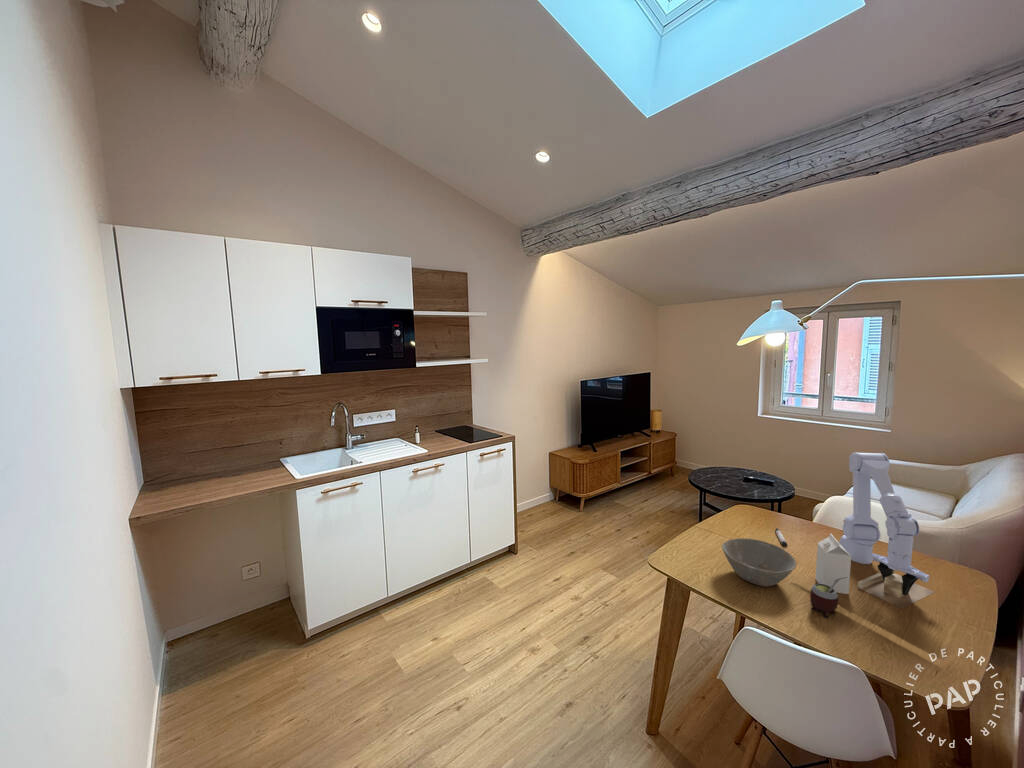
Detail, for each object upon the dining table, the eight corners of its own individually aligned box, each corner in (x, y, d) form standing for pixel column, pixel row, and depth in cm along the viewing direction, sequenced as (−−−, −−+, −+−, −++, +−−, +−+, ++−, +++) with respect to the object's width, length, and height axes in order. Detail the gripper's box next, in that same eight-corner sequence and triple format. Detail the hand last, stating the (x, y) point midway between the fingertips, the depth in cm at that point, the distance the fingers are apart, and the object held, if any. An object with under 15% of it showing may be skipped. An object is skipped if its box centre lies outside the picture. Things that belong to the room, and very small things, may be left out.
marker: (787, 547, 167) (787, 543, 167) (782, 546, 168) (782, 542, 167) (778, 531, 181) (779, 526, 181) (773, 530, 182) (774, 526, 181)
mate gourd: (806, 602, 132) (809, 559, 131) (836, 607, 129) (839, 564, 128) (813, 616, 125) (816, 572, 124) (844, 623, 122) (848, 577, 121)
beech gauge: (883, 591, 134) (884, 577, 134) (893, 587, 136) (894, 573, 136) (898, 598, 131) (899, 584, 130) (908, 593, 133) (910, 579, 132)
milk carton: (839, 585, 140) (842, 534, 138) (848, 598, 134) (852, 544, 132) (815, 582, 143) (818, 532, 141) (823, 594, 136) (826, 541, 134)
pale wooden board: (856, 591, 137) (857, 581, 137) (889, 576, 145) (890, 567, 144) (901, 613, 126) (902, 602, 126) (934, 596, 134) (935, 586, 133)
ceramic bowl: (722, 556, 161) (723, 533, 160) (791, 571, 149) (792, 546, 148) (719, 586, 142) (720, 560, 141) (798, 606, 130) (800, 578, 129)
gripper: (866, 544, 137) (863, 581, 139) (922, 566, 124) (918, 606, 125) (878, 540, 140) (875, 576, 141) (934, 560, 126) (930, 600, 128)
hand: (896, 590), depth 133 cm, fingers closed on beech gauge, 4 cm apart
